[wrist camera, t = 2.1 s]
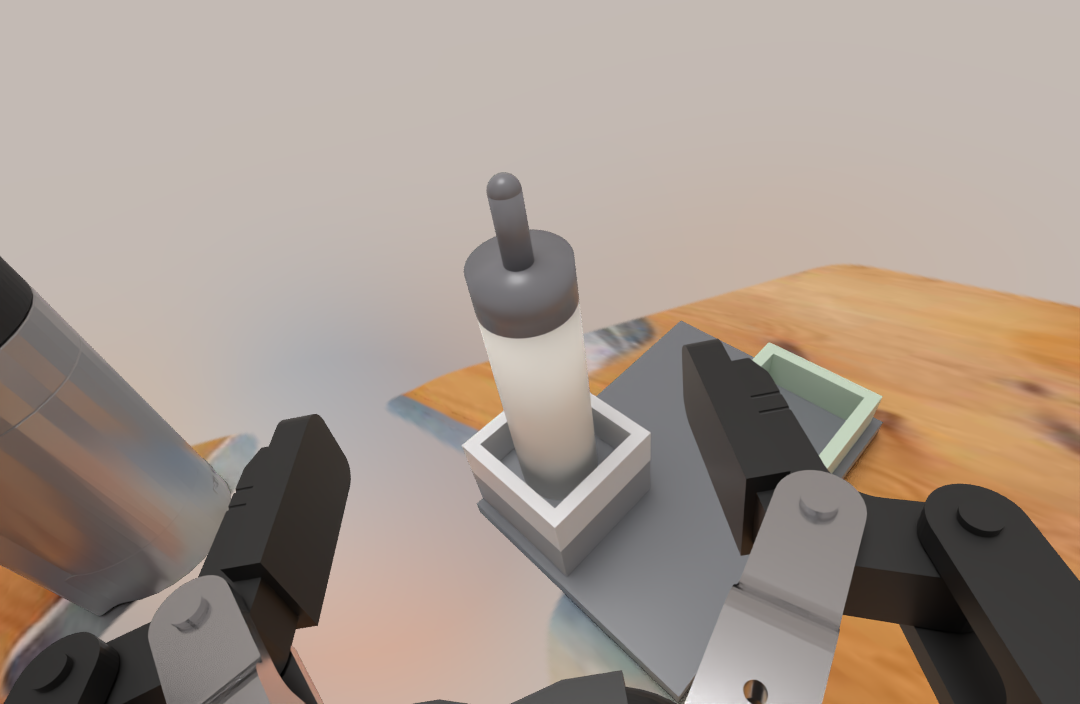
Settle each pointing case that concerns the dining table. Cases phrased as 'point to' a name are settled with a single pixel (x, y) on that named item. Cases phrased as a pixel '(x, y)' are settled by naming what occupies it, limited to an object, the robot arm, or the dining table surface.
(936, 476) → the dining table surface
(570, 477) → the plug
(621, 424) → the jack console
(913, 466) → the dining table surface
